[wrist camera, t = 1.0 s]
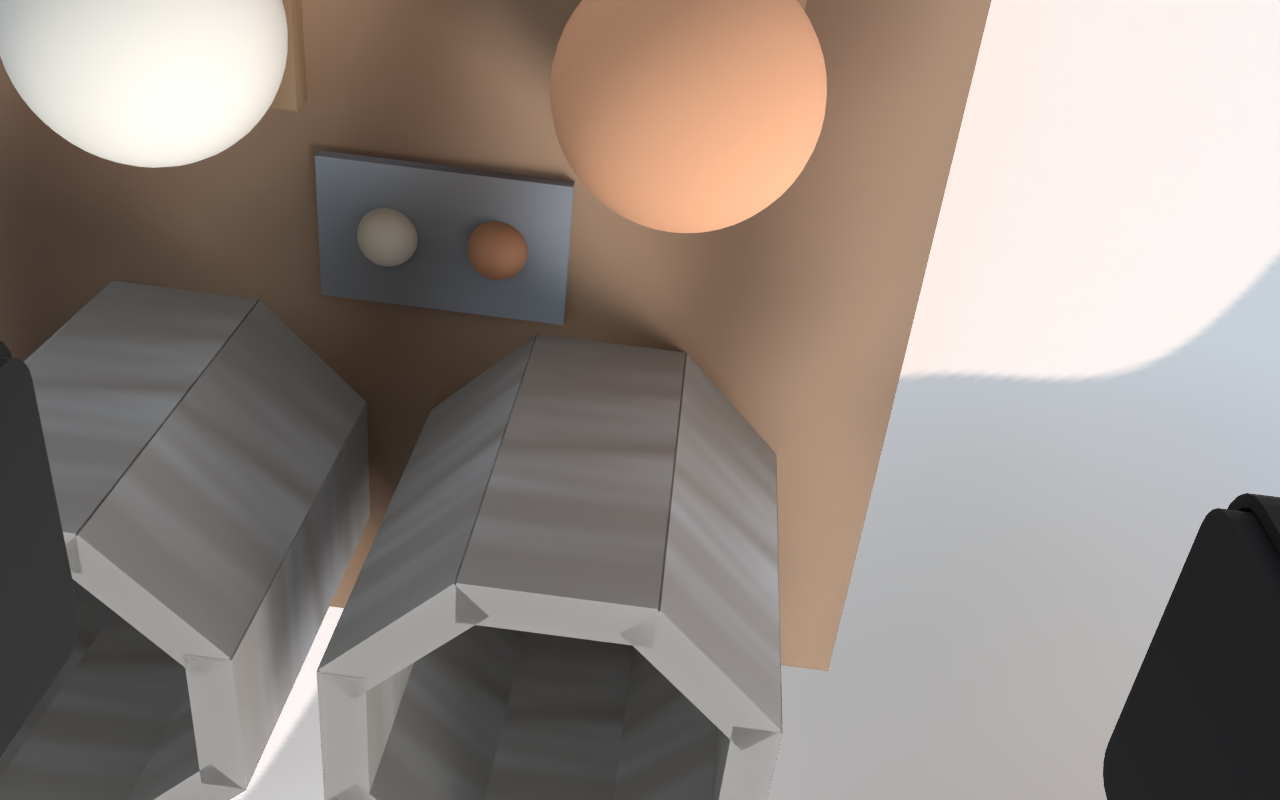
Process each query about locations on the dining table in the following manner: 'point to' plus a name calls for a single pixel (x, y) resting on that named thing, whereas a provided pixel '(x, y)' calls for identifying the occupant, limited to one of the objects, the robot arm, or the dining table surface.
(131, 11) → the ball cream
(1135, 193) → the dining table surface
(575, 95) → the ball terracotta
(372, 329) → the stand
